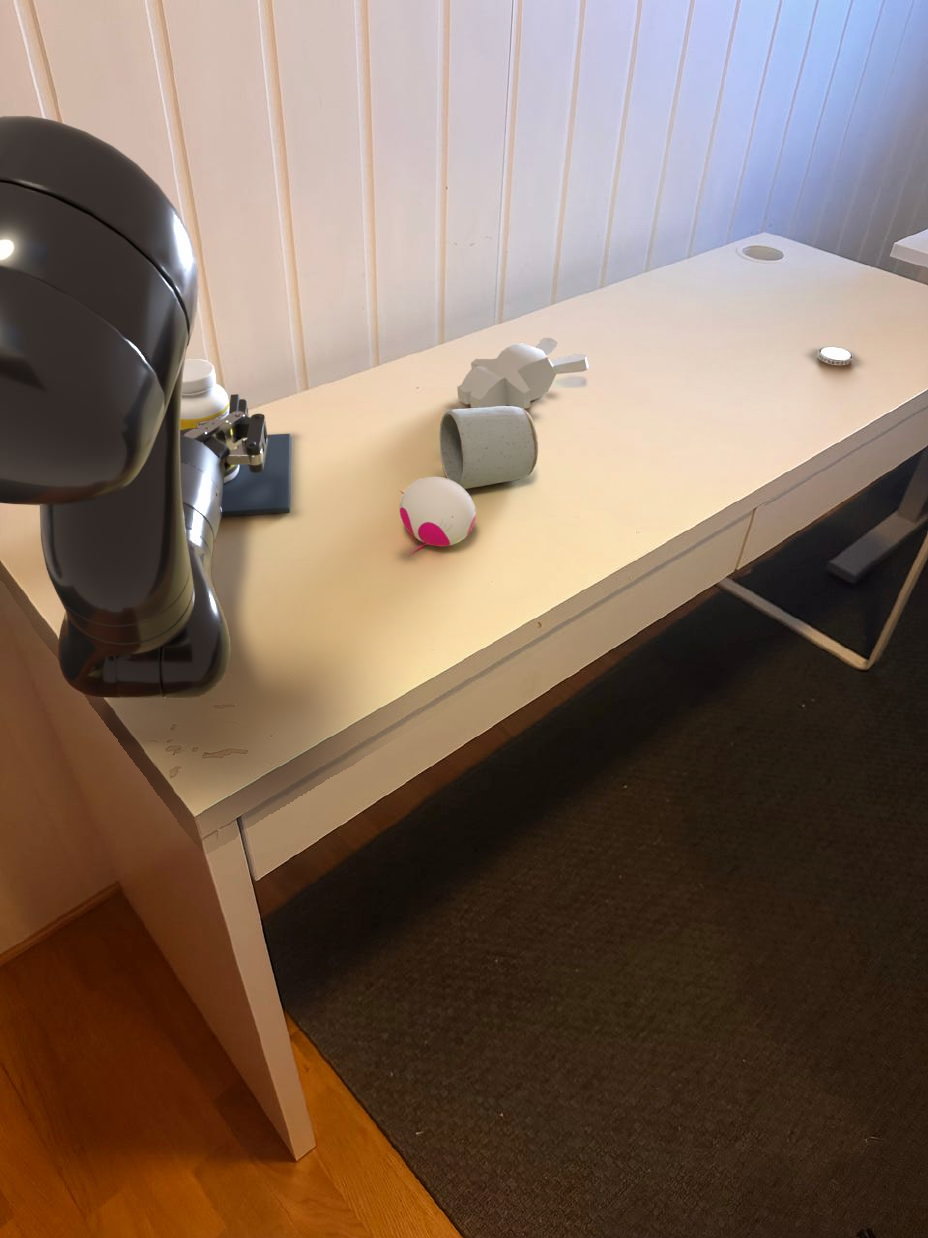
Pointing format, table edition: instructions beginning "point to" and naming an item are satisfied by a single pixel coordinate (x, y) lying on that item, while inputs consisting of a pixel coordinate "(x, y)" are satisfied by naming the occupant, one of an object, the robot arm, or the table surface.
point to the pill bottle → (203, 400)
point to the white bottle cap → (835, 355)
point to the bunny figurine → (516, 375)
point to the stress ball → (437, 511)
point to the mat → (261, 483)
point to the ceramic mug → (487, 445)
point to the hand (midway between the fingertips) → (189, 405)
